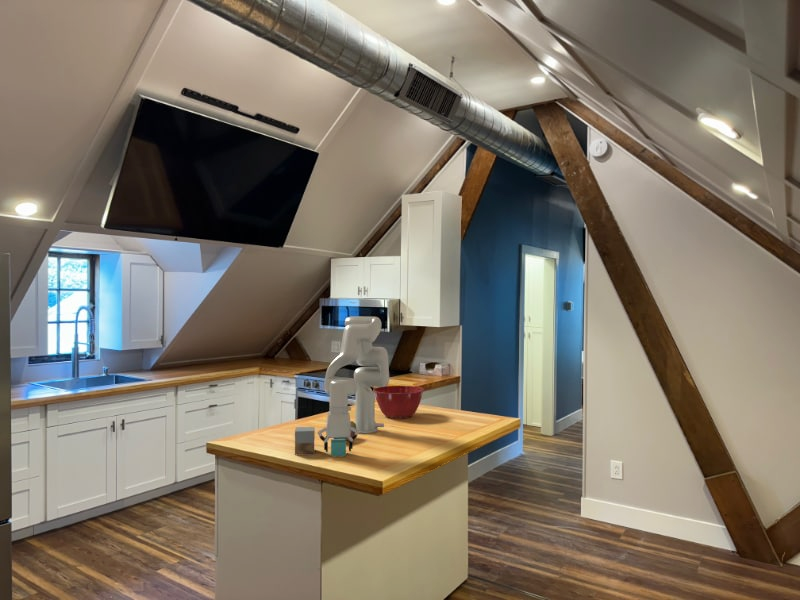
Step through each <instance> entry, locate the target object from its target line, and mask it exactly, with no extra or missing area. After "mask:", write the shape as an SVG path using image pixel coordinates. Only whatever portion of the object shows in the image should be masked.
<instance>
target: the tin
mask: <svg viewBox="0 0 800 600" xmlns="http://www.w3.org/2000/svg"><path fill="white" fill-rule="evenodd" d="M350 424H351V427H353V428H355V429H356V424H355V421H351V420H350ZM354 434H355V432H354V431H352V430H351V435H350V436H351V437H352V436H353V435H354ZM333 439H345V440H346V442H349V441H348V440H349V439H348V438H333Z"/></svg>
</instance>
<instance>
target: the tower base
mask: <svg viewBox="0 0 800 600" xmlns="http://www.w3.org/2000/svg"><path fill="white" fill-rule="evenodd" d="M296 454H311V455H315V442H314V443H295V442H294V456H297V455H296Z"/></svg>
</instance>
